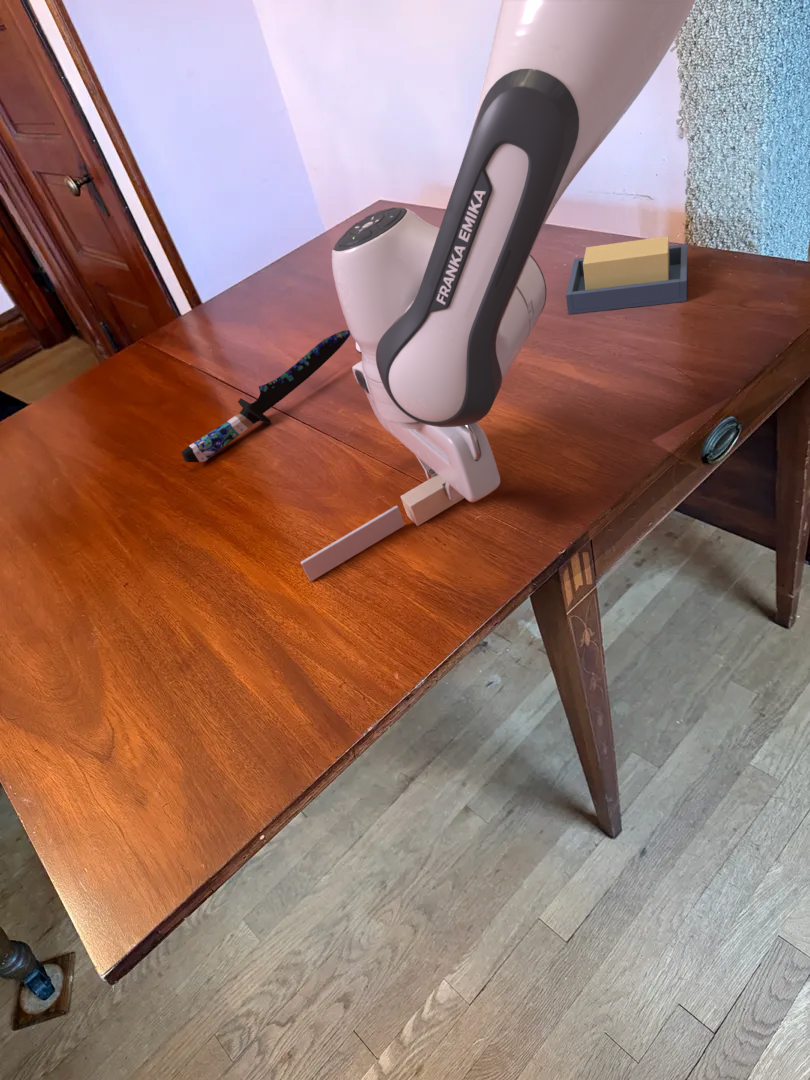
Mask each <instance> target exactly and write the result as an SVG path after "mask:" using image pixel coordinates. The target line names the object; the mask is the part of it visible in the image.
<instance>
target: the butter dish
mask: <svg viewBox="0 0 810 1080" xmlns="http://www.w3.org/2000/svg"><path fill="white" fill-rule="evenodd" d="M583 261H584V257H580V258H574V259H573V262H572V266H571V271H570V276H569V279H568V283H567V284H568V285H567V289H566V293H565V299H566V306H567V312H568V313H567V314H568V315H575V314H584V313H592V312H593V313H594V312H603V311H612V310H619V309H628V308H629V309H631V308H639V307H649V306H656V305H667V304H676V303H685V302H688V244H687V243H682V244H675V245H669V280H665V281H657V282H648V283H640V284H632V285H623V286H615V287H607V288H598V289H590V290H586V289H585V279H584V270H583Z"/></svg>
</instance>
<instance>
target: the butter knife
mask: <svg viewBox="0 0 810 1080" xmlns="http://www.w3.org/2000/svg"><path fill="white" fill-rule="evenodd" d="M444 483H445V480H444V479H443V478H441V477H440V476H439V475H438V474H437V475H436V476H434V477H432V478H430V479H429V480H428V479H427V480H426V481H424V482H422V483H421V484H419V485H417V486H415V487H413V488H412V489H410V490H408V491H407V492H405V493H403V494H401V495H400V499H401V502H402V505H403V508H404V510H405V513H406V516H407V518H409V519H410V521H412V522H413V524H414V525H416V526H417V527H419V526H420V525H422V524H424V523H425V522H427V521H429V520H430V519H432V518H434V517H436V516H437V515H439V514H440V513H442V512H444V511H445V510H447V509H449V508H450V507H453V506H454V505H455V504H457V503H459V502H461V501H462V500H464V499H466V498H465V497H461V498H460V499H458V500H456V501H452V500H450V499H449V498H448V497H447V496H446V495H445V493H444V490H443V487H442V484H444ZM404 521H405V520H404V518H403V516H402V514H401V511H400V507H399V506H398V505H395V506H393V507H391V508H389V509H388V510H385V511H384V512H382V513H381V514H379V515H377V516H376V517H374V518H373V519H371V520H369V521H367V522H366V523H364V524H362V525H361V526H359V527H357V528H355V529H354V530H352V531H351V532H349V533H347V534H345V535H344V536H342V537H340V538H338V539H337V540H336V541H333V542H332V543H330V544H328V545H327V546H324V547H323V548H322V549H320V550H318V551H316V552H314V553H313V554H312V555H309V556H308V557H306V558H305V559H303V560H301V561H300V564H301V566H302V569H303V570H304V572H305V574H306V576H307V578H308V580H309V582H312V581H314V580H316V579H318V578H319V577H321V576H322V575H324V574H326V573H328V572H329V571H331V570H332V569H335V568H336V567H338V566H340V564H343V563H345V562H346V561H348V560H350V559H351V558H352V557H355V556H356V555H358V554H359V553H361V552H363V551H364V550H366V549H367V548H369V547H371V546H373V545H375V544H376V543H378V542H380V541H382V540H383V539H385V538H386V537H388V536H390V535H392V533H394V532H396V531H398V530H399V529H401V528H403V527H404V526H405V525H406V524H405V522H404Z"/></svg>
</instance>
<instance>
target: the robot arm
mask: <svg viewBox="0 0 810 1080" xmlns="http://www.w3.org/2000/svg"><path fill="white" fill-rule="evenodd" d="M695 3H696V0H501V4H500V8H499V12H498V17H497V22H496V26H495V30H494V35H493V40H492V43H491V49H490V53H489V57H488V62H487V65H486V69H485V73H484V78H483V81H482V84H481V89H480V93H479V97H478V101H477V105H476V109H475V113H474V116H473V117H474V118H473V120H472V125H471V130H470V135H469V137H468V141H467V145H466V149H465V152H464V154H463V158H462V160H461V164H460V167H459V170H458V173H457V176H456V180H455V181H454V185H453V188H452V191H451V194H450V197H449V200H448V202H447V206H446V208H445V211H444V214H443V217H442V221H441V223H440V227H437V226H435V225H432V224H430V223H428V222H426V221H425V220H423V219H422V218H421V217H420V216H418V214H416V213H415V212H414V211H412V210H411V209H409V208H406V207H401V206H399V207H394V206H393V207H388V208H384V209H380V210H378V211H376V212H373V213H371V214H369V215H367V216H364V218H363V219H361V220H359V221H357V222H355V223H353V225H352V226H351V227H350V228H348V229H347V230H346V231H345V232H344V233H343V234H342V235H341V236H340V237H339V238H338V240H337V241H336V242H335V244H334V246H333V249H332V251H331V269H332V275H333V280H334V285H335V289H336V293H337V297H338V301H339V305H340V307H341V311H342V314H343V316H344V320H345V322H346V327H347V328H348V330H349V331H350V333H351V334H350V336H351V337H352V339H353V340H354V341H355V343H356V342H357V344H358V345H359V347H360V350H361V352H360V353H361V360H360V361H359V362H357V363H356V364H354V365H352V367H351V370H352V373H353V376H354V378H355V381H356V382H357V384H358V385H359V386H360V387H362V389H363V390H364V393H365V396H366V398H367V400H368V402H369V404H370V407H371V408H372V412H373V413H374V415H375V417H376V419H377V420H378V422H379V423H380V425H381V426H382V427H383V428H384V430H386V431H387V432H388V433H389V434H391V435H392V436H393V437H394V438H395V439H396V440H397V441H398V442H400V443H401V444H402V445H403V446H405V447H406V448H407V449H408V450H409V451H410V452H411V453H412V454H414V456H415V457H416V459H417V460H418V462H419V464H420V466H421V467H422V469H423V470H424V472H425V476H426V479H427V480H429V479H430V478H432V477H434V476H436V475H437V474H438V475H439V476H440V477H441V478H443V479H444V480H445V483H444V484H442V487H443V490H444V493H445V495H446V496H447V497H448V498H449V499H450V500H452V501H456V500H458V499H460V498H461V497H465V498H464V499H466V501H468V502H469V503H476V502H477V501H479V500H481V499H483V498H484V497H486V496H488V495H490V494H491V493H492V492H494V491H496V490H497V489H498V487H499V486H500V484H501V475H500V472H499V469H498V466H497V462H496V460H495V459H496V458H495V456H494V454H493V451H492V447H491V445H490V441H489V440H488V437H487V435H486V433H485V431H484V430H483V428H482V426H481V424H479V423H478V422H480V421H481V420H483V419H484V418H485V417H486V416H488V414H489V412H490V411H491V409H492V407H493V405H494V403H495V401H496V398H497V396H498V394H499V392H500V390H501V388H502V384H503V382H504V380H505V378H506V376H507V375H508V373H509V372H510V369H511V368H512V366H513V365H514V363H515V361H516V359H517V358H518V356H519V354H520V352H521V351H522V349H523V347H524V345H525V344H526V342H527V340H528V338H529V337H530V335H531V333H532V332H533V330H534V328H535V326H536V324H537V322H538V321H539V318H540V316H541V314H542V312H543V311H544V309H545V305H546V301H547V284H546V280H545V276H544V273H543V271H542V270H541V267H540V266H539V264H538V262H537V260H536V259H535V258H534V257H533V256H532V252H533V250H534V248H535V245H536V244H537V240H538V238H539V236H540V234H541V232H542V230H543V228H544V226H545V224H546V222H547V220H548V219H549V217H550V215H551V214H552V212H553V210H554V209H555V207H556V205H557V204H558V202H559V200H560V199H561V198H562V196H563V195H564V193H565V191H566V190H567V189H568V187H569V186H570V184H571V183H572V182H573V180H574V179H575V178H576V176H577V175H578V174H579V173H580V171H581V170H582V168H583V167H584V165H585V164H586V163H587V162H588V160H590V158H591V157H592V155H593V154H594V153H595V152H596V151H597V150H598V148H599V147H600V145H601V144H602V143H603V142H604V141H605V139H607V137H608V135H609V134H610V133H611V132H612V130H613V129H614V128H615V127H616V126H617V124H618V123H619V122H620V120H621V119H622V118H623V117H624V115H625V114H626V113H627V112H628V110H629V109H630V108H631V106H632V105H633V104H634V102H635V101H636V100H637V98H638V96H639V95H640V94H641V92H642V91H643V90H644V88H645V87H646V85H647V84H648V83H649V82H650V80H651V78H652V77H653V75H654V74H655V72H656V71H657V69H658V67H659V66H660V64H661V63H662V61H663V60H664V58H665V56H666V55H667V53H668V51H669V50H670V48H671V46H672V44H674V41H675V40H676V38H677V36H678V35H679V33H680V31H681V29H682V27H683V26H684V24H685V22H686V20H687V18H688V16H689V14H690V13H691V11H692V9H693V6H694V5H695Z"/></svg>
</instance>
